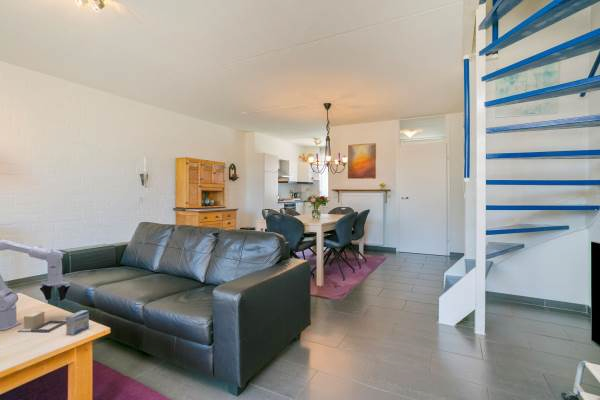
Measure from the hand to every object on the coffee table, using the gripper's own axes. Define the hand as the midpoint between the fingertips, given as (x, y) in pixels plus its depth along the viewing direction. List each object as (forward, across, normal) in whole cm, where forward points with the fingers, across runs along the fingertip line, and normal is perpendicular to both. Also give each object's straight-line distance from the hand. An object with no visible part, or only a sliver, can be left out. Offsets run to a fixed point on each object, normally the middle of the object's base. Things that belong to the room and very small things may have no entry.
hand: (55, 299), depth 152 cm
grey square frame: (+10, +5, -9) cm, 15 cm away
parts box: (+10, -2, -9) cm, 14 cm away
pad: (+10, -3, -9) cm, 14 cm away
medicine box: (+11, +22, -12) cm, 27 cm away
